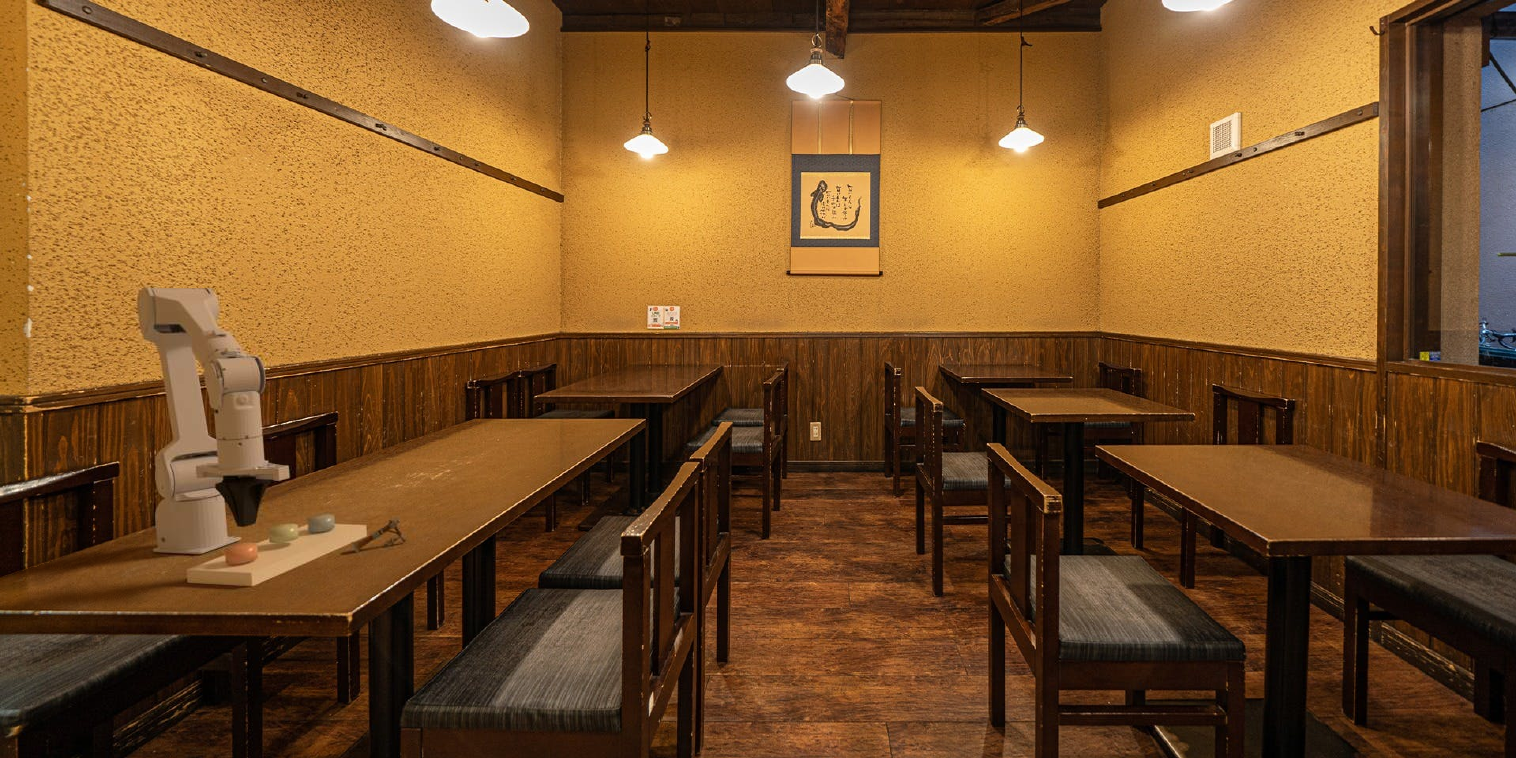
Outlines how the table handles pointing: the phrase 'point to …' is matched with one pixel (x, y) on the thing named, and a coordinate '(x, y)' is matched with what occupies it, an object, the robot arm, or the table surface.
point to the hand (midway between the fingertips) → (246, 524)
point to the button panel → (276, 557)
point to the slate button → (321, 523)
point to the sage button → (283, 533)
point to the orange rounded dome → (241, 553)
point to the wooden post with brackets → (375, 535)
